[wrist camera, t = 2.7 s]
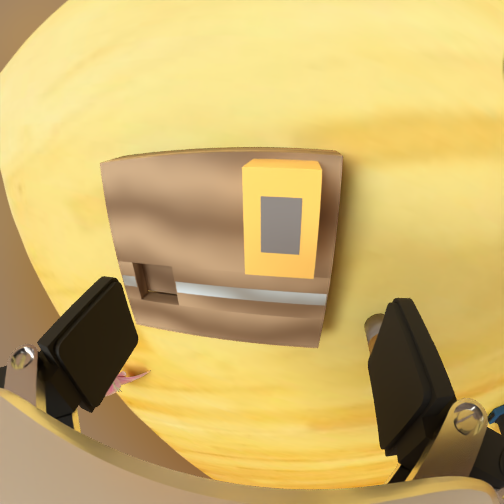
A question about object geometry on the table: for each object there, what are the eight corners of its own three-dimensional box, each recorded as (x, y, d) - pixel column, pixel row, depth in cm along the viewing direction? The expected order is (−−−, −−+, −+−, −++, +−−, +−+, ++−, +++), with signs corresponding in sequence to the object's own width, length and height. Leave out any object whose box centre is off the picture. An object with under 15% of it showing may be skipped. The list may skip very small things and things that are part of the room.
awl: (367, 313, 27) (382, 377, 19) (392, 314, 27) (412, 376, 19) (361, 333, 29) (372, 396, 21) (385, 333, 28) (400, 394, 20)
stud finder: (253, 158, 19) (241, 167, 15) (317, 160, 18) (322, 170, 14) (254, 248, 22) (245, 274, 18) (312, 251, 21) (313, 279, 17)
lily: (113, 372, 45) (116, 416, 38) (68, 347, 37) (65, 397, 30) (157, 354, 44) (164, 403, 37) (111, 324, 36) (111, 381, 29)
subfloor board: (124, 155, 24) (99, 163, 20) (335, 150, 21) (342, 156, 17) (151, 304, 32) (136, 324, 28) (317, 322, 29) (318, 348, 25)
